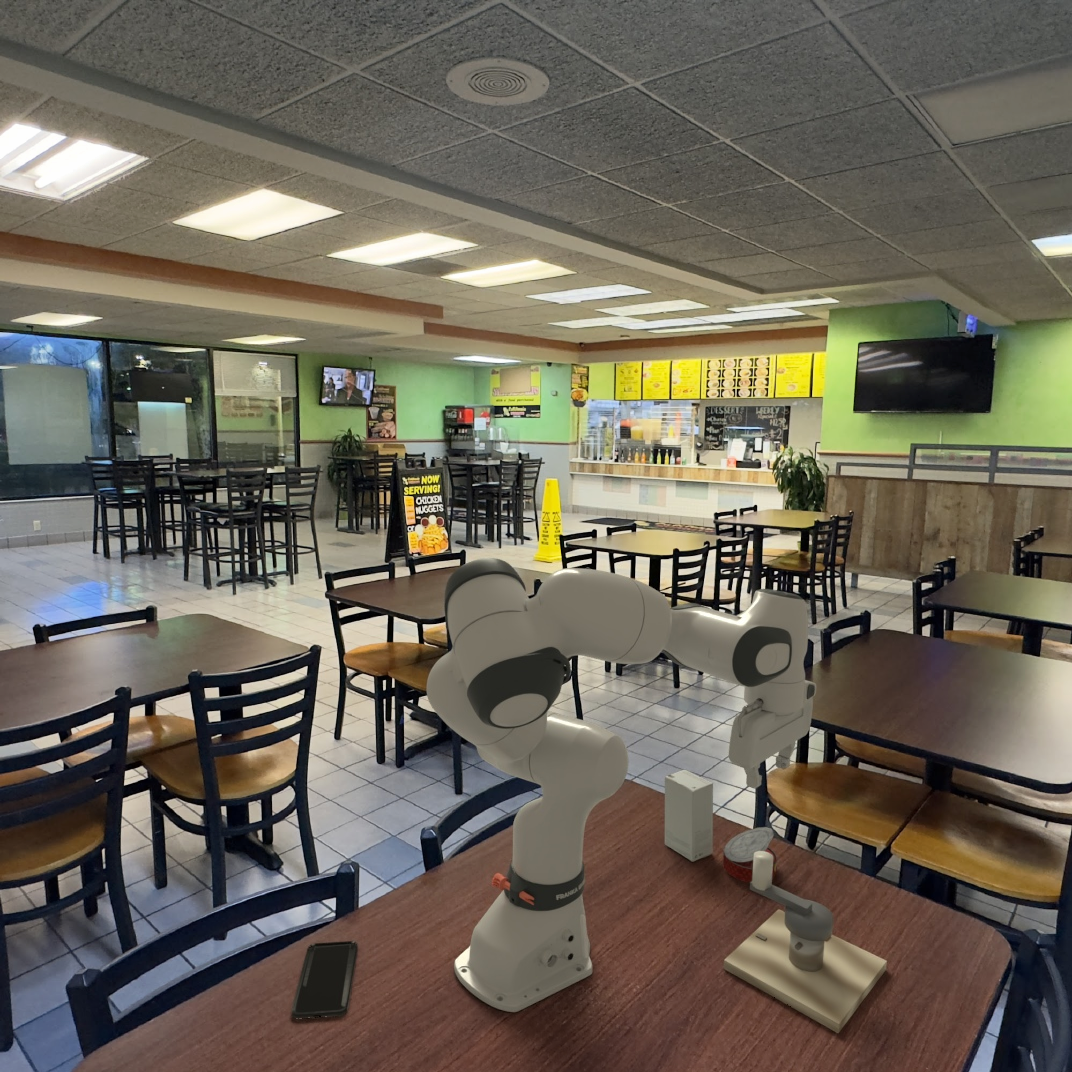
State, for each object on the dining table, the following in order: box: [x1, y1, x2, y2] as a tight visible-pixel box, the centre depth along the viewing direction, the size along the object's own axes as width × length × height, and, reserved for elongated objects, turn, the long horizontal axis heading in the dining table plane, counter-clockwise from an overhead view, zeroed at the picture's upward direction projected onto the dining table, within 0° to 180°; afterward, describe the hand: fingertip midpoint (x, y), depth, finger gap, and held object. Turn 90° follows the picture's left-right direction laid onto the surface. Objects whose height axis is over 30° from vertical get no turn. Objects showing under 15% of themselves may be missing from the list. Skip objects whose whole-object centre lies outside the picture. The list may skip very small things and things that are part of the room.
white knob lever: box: [749, 851, 834, 941], centre depth 119 cm, size 7×13×8 cm, turn 46°
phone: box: [291, 940, 359, 1019], centre depth 115 cm, size 8×1×15 cm
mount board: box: [723, 909, 888, 1034], centre depth 118 cm, size 18×18×7 cm
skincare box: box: [664, 769, 714, 862], centre depth 151 cm, size 8×6×15 cm
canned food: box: [722, 826, 778, 883], centre depth 145 cm, size 11×10×10 cm
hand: (768, 776), depth 120 cm, fingers open, 8 cm apart
